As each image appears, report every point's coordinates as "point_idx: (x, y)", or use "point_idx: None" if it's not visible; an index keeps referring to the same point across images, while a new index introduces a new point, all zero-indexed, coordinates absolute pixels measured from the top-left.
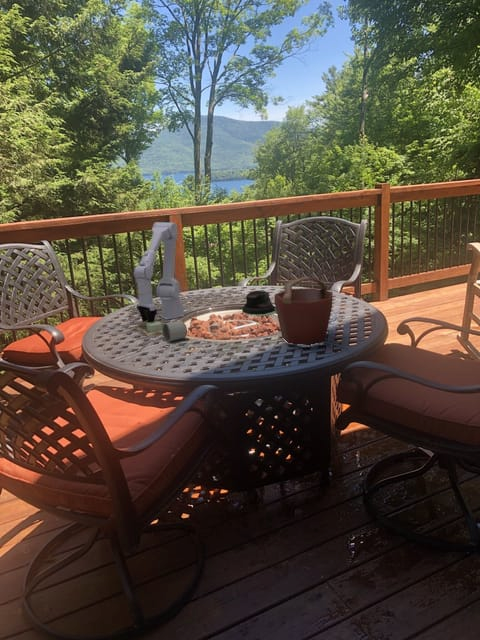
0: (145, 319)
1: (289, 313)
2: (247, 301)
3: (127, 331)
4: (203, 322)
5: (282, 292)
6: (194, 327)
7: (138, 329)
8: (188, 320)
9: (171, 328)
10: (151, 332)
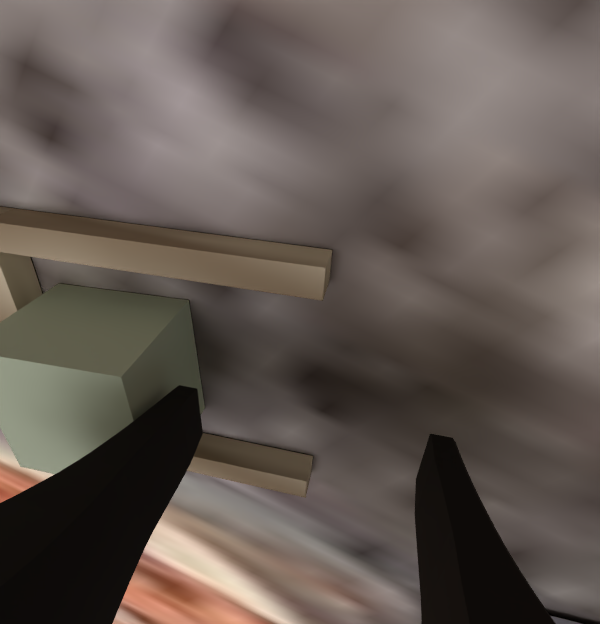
0: (423, 480)
1: None
2: None
3: (408, 84)
4: (186, 618)
5: None
6: None
7: (295, 253)
8: (290, 620)
9: None
10: (40, 297)
